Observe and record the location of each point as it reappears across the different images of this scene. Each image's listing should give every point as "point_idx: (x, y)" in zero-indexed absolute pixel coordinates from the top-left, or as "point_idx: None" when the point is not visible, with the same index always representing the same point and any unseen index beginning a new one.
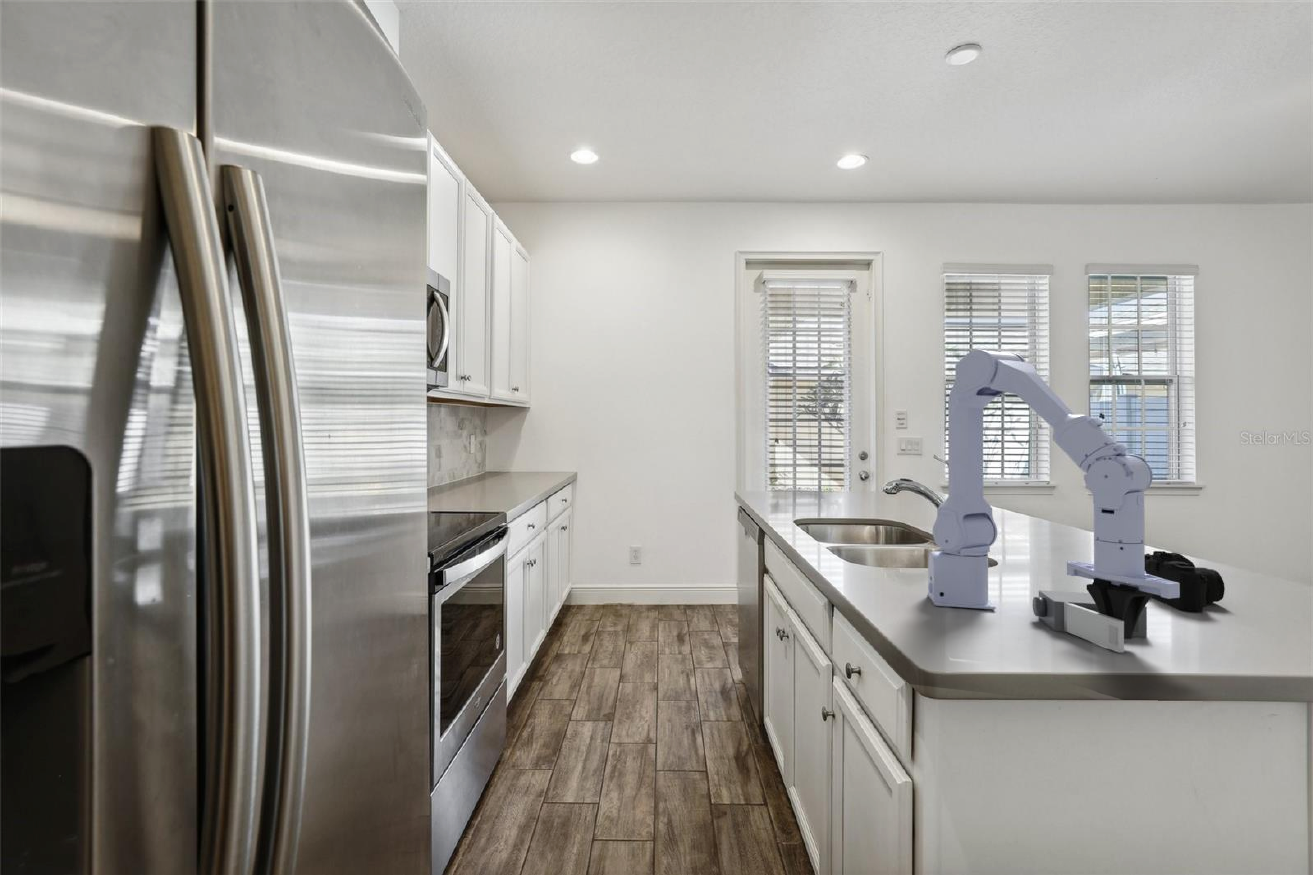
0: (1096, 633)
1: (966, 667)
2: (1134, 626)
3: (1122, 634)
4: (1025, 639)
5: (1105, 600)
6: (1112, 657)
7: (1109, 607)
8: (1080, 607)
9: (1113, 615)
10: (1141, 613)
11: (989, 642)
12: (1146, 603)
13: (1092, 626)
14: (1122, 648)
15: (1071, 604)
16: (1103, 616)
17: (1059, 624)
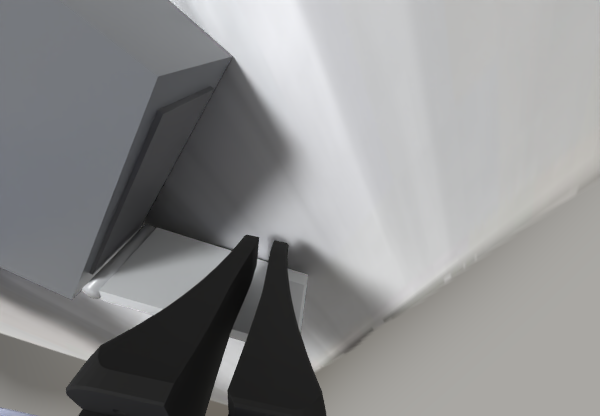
0: None
1: None
2: (287, 270)
3: (302, 314)
4: None
5: (213, 378)
6: (307, 295)
7: (224, 343)
8: (147, 308)
9: (234, 305)
10: (174, 94)
11: None
12: (306, 354)
13: None
14: (306, 284)
15: (110, 298)
16: (243, 340)
17: (127, 241)
